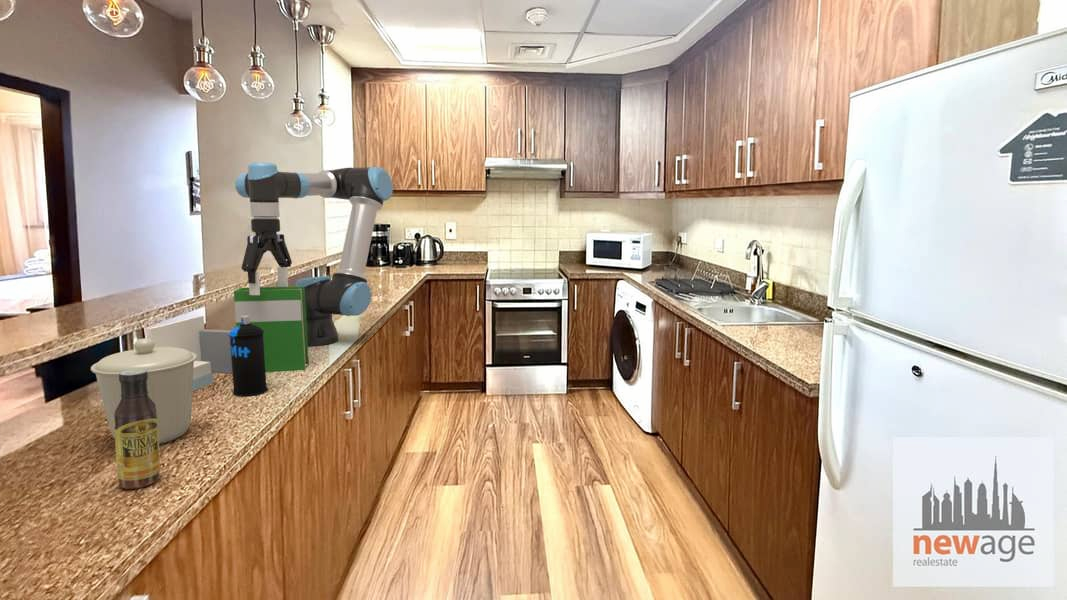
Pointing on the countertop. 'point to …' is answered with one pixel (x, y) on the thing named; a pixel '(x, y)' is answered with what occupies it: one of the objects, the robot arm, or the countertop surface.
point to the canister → (152, 384)
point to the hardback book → (277, 324)
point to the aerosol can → (248, 359)
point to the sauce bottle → (136, 432)
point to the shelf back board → (179, 335)
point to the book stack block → (201, 374)
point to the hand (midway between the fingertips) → (269, 291)
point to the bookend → (216, 350)
